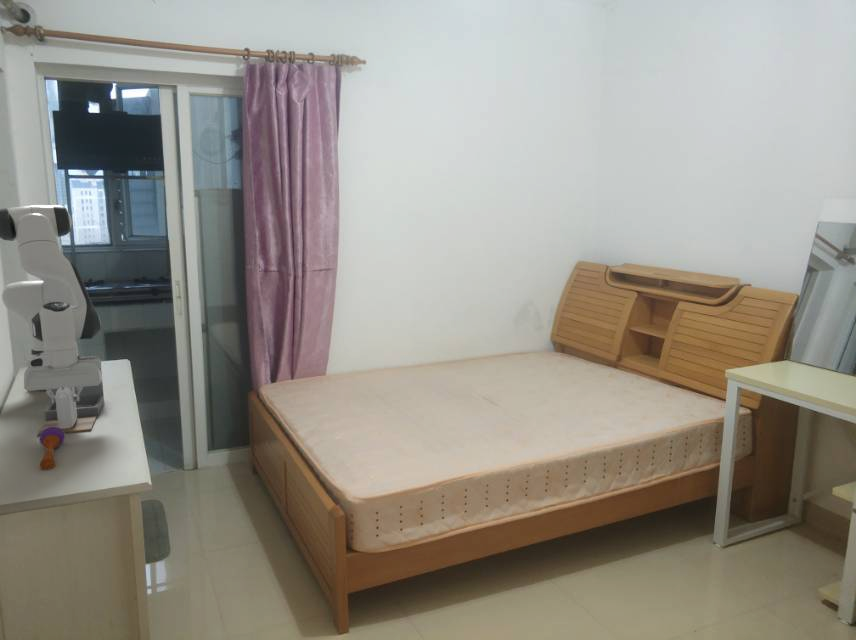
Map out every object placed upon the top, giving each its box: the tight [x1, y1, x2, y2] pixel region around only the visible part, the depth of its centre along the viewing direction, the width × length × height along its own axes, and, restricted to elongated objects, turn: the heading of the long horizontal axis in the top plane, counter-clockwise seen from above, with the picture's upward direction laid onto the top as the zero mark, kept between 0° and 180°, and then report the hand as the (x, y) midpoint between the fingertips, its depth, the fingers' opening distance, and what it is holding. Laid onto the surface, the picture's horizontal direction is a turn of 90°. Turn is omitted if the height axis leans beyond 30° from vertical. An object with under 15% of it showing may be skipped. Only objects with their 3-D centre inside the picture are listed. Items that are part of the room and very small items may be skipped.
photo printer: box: [55, 387, 77, 429], centre depth 194 cm, size 10×4×12 cm, turn 20°
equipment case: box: [44, 358, 105, 421], centre depth 208 cm, size 15×15×15 cm
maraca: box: [39, 427, 65, 470], centre depth 173 cm, size 6×6×20 cm
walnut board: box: [36, 415, 98, 437], centre depth 195 cm, size 13×14×1 cm
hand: (65, 401), depth 194 cm, fingers open, 4 cm apart
